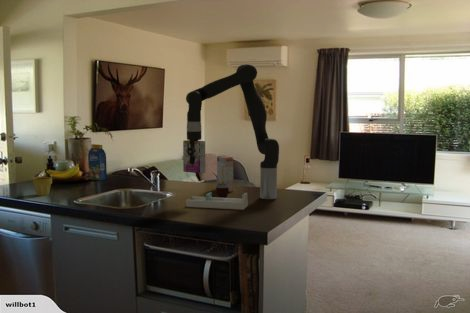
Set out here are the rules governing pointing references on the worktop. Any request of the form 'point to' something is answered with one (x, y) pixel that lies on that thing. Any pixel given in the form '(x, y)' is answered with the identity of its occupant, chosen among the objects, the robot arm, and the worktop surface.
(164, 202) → the worktop surface
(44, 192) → the plant pot
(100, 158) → the blue food package
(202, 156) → the candy bar box
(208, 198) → the pusher paddle
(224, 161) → the cracker box
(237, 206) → the pusher lane
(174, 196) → the worktop surface
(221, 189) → the mate gourd
